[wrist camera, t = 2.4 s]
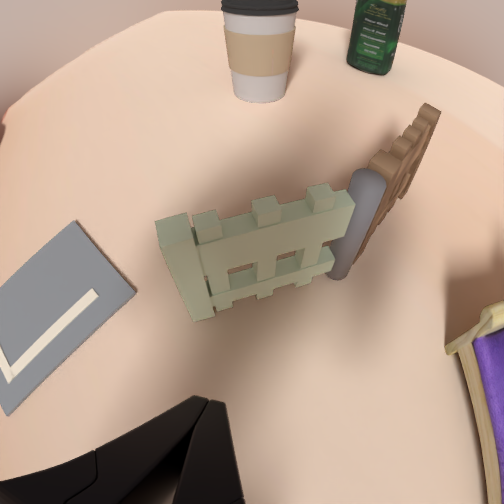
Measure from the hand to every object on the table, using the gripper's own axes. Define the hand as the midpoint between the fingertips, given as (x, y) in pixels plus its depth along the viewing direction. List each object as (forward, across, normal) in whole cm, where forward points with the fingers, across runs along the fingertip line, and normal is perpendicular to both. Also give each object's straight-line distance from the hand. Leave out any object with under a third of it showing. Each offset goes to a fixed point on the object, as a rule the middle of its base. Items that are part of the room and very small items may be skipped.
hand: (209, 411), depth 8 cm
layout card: (+12, +19, +7) cm, 23 cm away
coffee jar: (+49, -10, -30) cm, 58 cm away
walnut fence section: (+23, -9, -4) cm, 25 cm away
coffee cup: (+37, +6, -18) cm, 42 cm away
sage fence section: (+16, 0, +2) cm, 17 cm away
